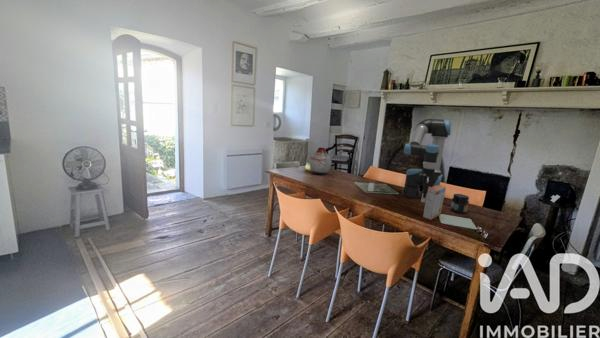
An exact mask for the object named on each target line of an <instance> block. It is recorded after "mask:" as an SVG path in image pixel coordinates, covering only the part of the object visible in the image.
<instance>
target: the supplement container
mask: <svg viewBox="0 0 600 338" xmlns="http://www.w3.org/2000/svg"><path fill="white" fill-rule="evenodd" d="M469 199H470V196H468V195H466V194H462V193H454V194H453V197H452V199H451V204H450V211H452V212H454V213H456V214H467V211H468V208H469V203H470V201H469Z"/></svg>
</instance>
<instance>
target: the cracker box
mask: <svg viewBox="0 0 600 338" xmlns="http://www.w3.org/2000/svg"><path fill="white" fill-rule="evenodd" d="M446 189H447V187H446V186H443V185H441V184H440V185H436V186H433V187H429V188H428V192H427V196H426V202H425V203H424V209H423V215H422V218H424V219H426V220H429V221H432V220H433V219H435V218H439V216H440V214H442V209H443V205H444V204H443V203H444V198H445V194H446Z"/></svg>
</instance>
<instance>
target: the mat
mask: <svg viewBox="0 0 600 338" xmlns="http://www.w3.org/2000/svg"><path fill="white" fill-rule="evenodd" d="M438 218H439V221H440V223H441V224H445V225H447V226H448V225H449V226H455V227H459V228H465V229H470V230H476V229H478V227H476V225H475V223H474V222H473V221H472V219H471V218H466V217H460V216H455V215H450V214H443V213H441V214H440V216H438Z"/></svg>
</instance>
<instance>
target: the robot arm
mask: <svg viewBox="0 0 600 338" xmlns="http://www.w3.org/2000/svg"><path fill="white" fill-rule="evenodd" d="M451 125H452V122H451V120H449V119H440V118H439V119H437V118H426V119H424V120H421V121H420V122H418V123H417V124H416V125H415V127H414V133H413V136H412V138H411V140H410V141H409V143H405V144H404V147H403V153H404V154H405V155H409V156H419V157H424V159H423V162H422V164H423V165H422V168H408V169H407V170H406V174H405V181H404V187H403V188H402V189H401V193H400V195H401V196H403V197H406V198H409V199H420V198H421V199H420V203H423V204H425V203H426V197H427V192H428V188H430V187H433V186H436V185H441V181H442V178H443V176H444V175H443V174H442V171H441V170H440V169H441V163H442V157H443V153H444V147H445V143H446V142H445V141H446V140H447V139H448V138H449V136H451V130H452V129H451V128H452V126H451ZM426 134H429V135H431V138H432V142H431V143H429V144H426V145H422V143H423V141H424V139H425V135H426ZM420 186H422V191H421V190H420Z"/></svg>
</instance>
